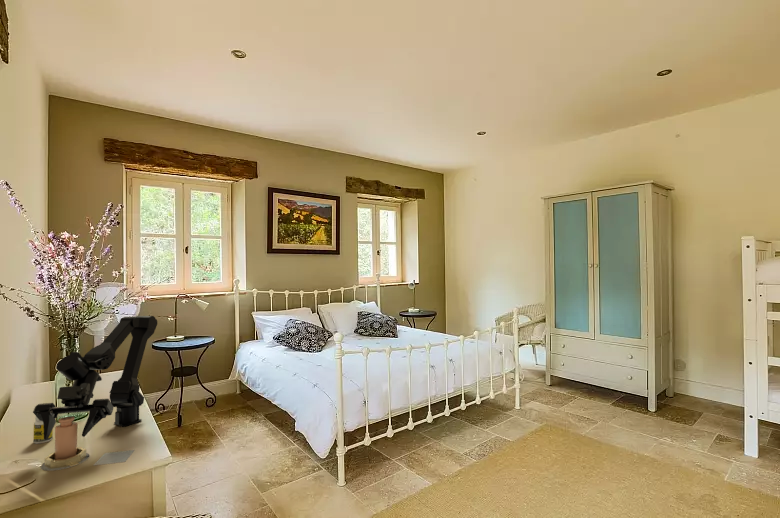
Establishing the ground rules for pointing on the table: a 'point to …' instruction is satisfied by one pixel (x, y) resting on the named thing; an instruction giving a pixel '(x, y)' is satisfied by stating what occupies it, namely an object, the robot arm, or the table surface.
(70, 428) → the vase
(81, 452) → the holder
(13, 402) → the table surface
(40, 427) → the supplement bottle
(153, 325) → the robot arm
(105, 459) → the tile
